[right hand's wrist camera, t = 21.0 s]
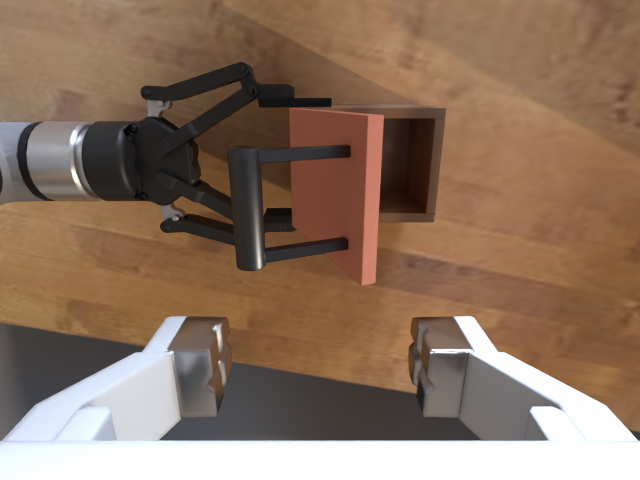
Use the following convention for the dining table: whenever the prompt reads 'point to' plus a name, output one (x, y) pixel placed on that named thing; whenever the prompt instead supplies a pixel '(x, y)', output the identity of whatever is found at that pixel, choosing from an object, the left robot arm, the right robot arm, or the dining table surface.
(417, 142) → the chest
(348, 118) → the lid
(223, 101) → the left robot arm
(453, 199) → the dining table surface
